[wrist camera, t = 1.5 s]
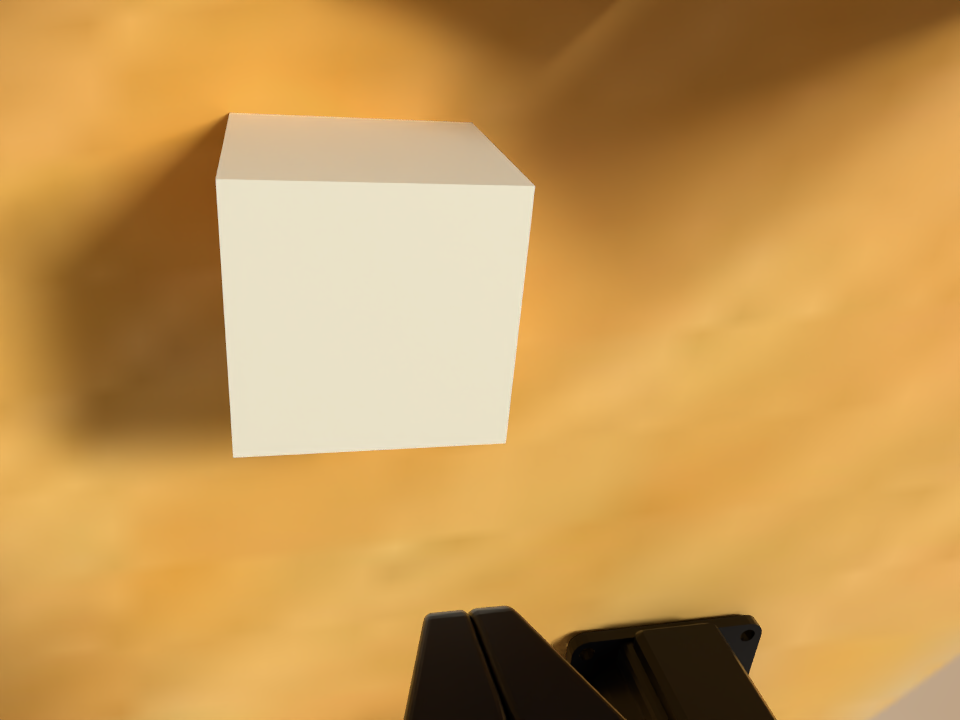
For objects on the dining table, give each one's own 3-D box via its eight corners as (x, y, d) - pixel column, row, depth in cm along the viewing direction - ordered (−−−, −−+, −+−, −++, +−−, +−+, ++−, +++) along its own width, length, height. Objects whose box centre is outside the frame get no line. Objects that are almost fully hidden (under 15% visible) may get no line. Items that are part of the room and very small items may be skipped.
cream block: (455, 330, 20) (505, 443, 16) (241, 335, 19) (233, 457, 15) (471, 121, 18) (534, 185, 14) (229, 112, 17) (215, 178, 12)
